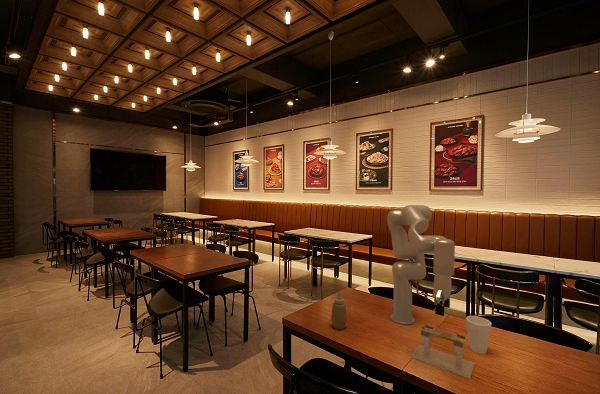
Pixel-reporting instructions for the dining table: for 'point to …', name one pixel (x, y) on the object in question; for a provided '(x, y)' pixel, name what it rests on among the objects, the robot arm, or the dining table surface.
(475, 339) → the foam cup
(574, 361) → the dining table surface
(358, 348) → the dining table surface
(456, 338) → the candy bar
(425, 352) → the hook stand
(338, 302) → the squeeze bottle
